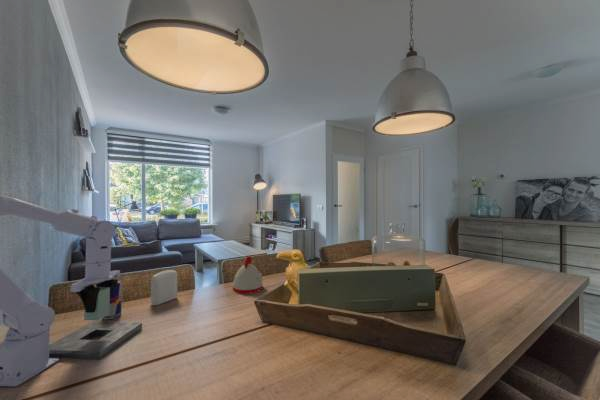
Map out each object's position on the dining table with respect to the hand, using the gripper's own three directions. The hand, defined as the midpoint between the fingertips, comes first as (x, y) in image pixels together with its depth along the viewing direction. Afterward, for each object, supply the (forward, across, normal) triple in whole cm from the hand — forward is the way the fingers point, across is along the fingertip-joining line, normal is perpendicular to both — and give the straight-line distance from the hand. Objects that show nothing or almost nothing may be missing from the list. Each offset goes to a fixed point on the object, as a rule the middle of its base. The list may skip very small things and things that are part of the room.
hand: (97, 308), depth 73 cm
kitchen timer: (+10, +49, -32) cm, 59 cm away
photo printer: (+10, +31, -2) cm, 32 cm away
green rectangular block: (+2, 0, 0) cm, 2 cm away
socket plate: (+9, 0, 0) cm, 9 cm away
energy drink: (+10, +16, +8) cm, 21 cm away
